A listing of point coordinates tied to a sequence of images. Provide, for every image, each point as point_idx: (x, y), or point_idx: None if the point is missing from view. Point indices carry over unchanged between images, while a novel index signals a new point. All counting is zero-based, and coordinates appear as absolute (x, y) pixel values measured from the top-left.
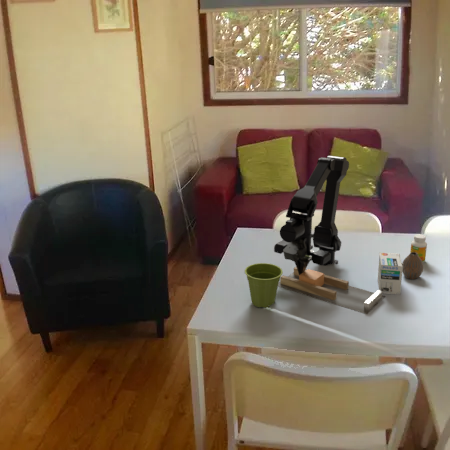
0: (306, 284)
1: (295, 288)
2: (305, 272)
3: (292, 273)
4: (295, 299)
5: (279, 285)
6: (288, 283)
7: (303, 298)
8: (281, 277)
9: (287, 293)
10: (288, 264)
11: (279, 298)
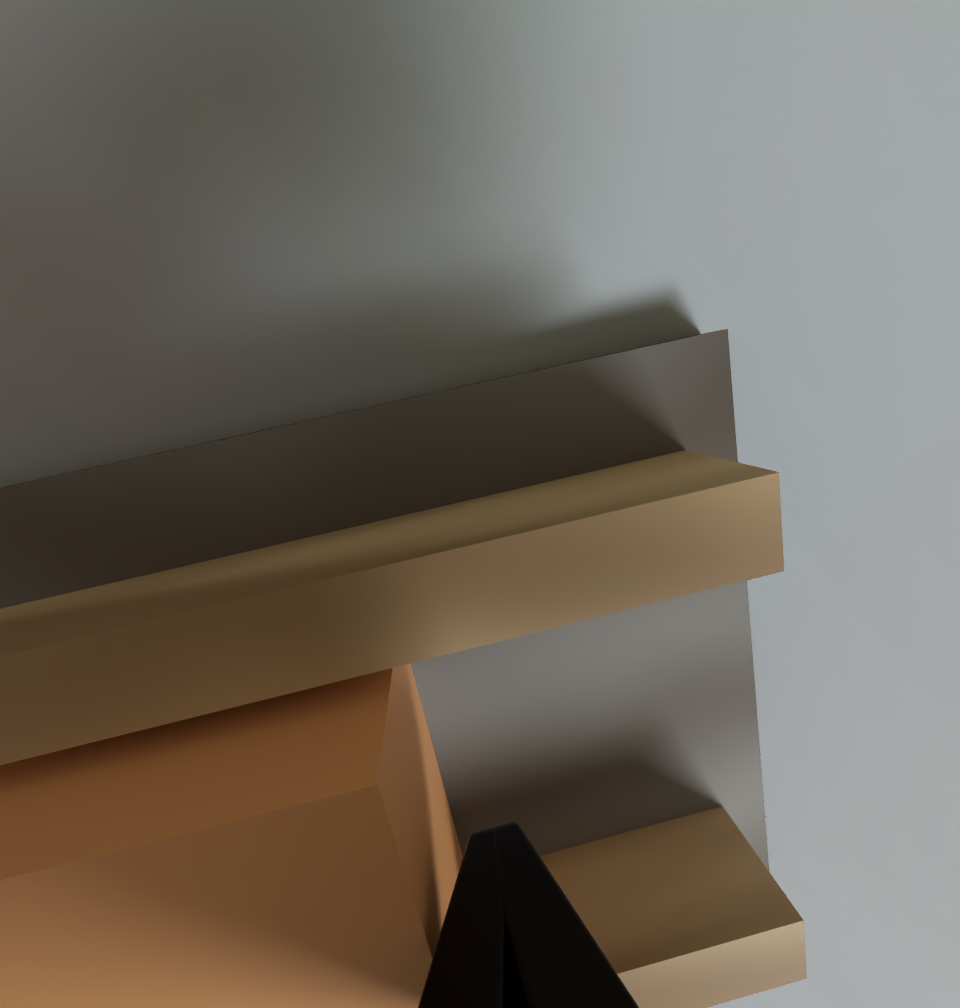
0: (65, 657)
1: (373, 516)
2: (390, 987)
3: (753, 813)
4: (118, 261)
5: (651, 383)
6: (535, 499)
7: (65, 405)
8: (747, 477)
9: (393, 329)
10: (943, 924)
11: (342, 44)
